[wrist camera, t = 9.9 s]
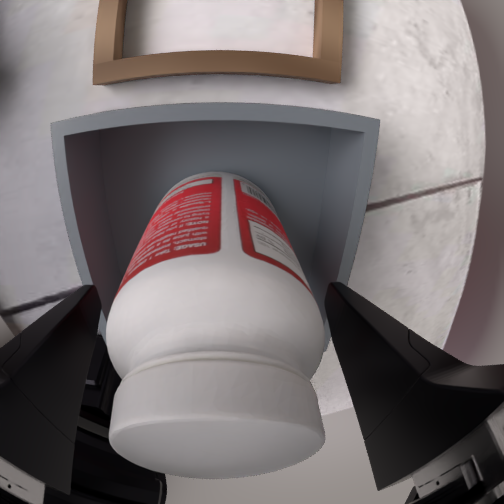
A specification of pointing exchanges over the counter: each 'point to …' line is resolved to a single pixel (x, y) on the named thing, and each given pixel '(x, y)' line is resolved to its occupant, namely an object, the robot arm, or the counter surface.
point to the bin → (214, 160)
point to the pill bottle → (215, 338)
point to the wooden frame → (217, 53)
